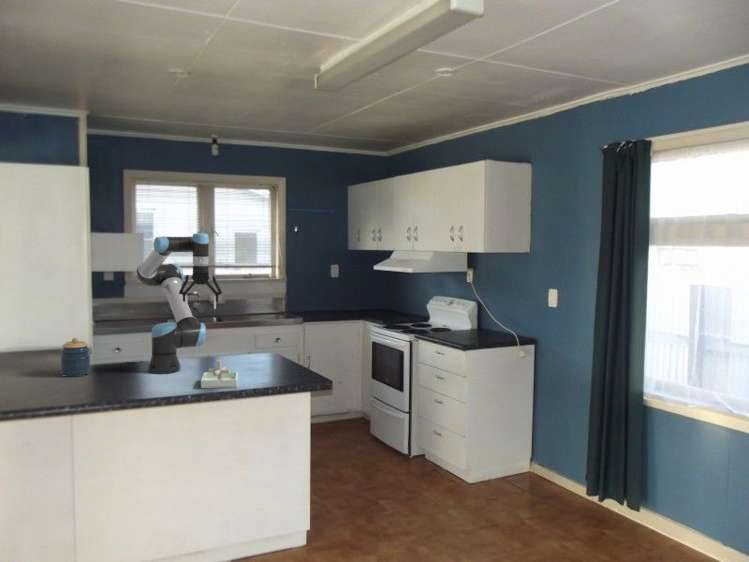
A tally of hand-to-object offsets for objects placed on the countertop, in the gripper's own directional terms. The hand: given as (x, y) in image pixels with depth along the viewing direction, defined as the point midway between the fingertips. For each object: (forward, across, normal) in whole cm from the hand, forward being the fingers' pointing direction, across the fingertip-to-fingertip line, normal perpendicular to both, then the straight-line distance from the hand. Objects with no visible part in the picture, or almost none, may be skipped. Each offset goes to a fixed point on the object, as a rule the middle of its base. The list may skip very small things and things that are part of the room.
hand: (200, 308), depth 314 cm
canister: (+32, -58, 0) cm, 66 cm away
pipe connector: (+31, +11, -24) cm, 41 cm away
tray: (+32, +11, -24) cm, 41 cm away
